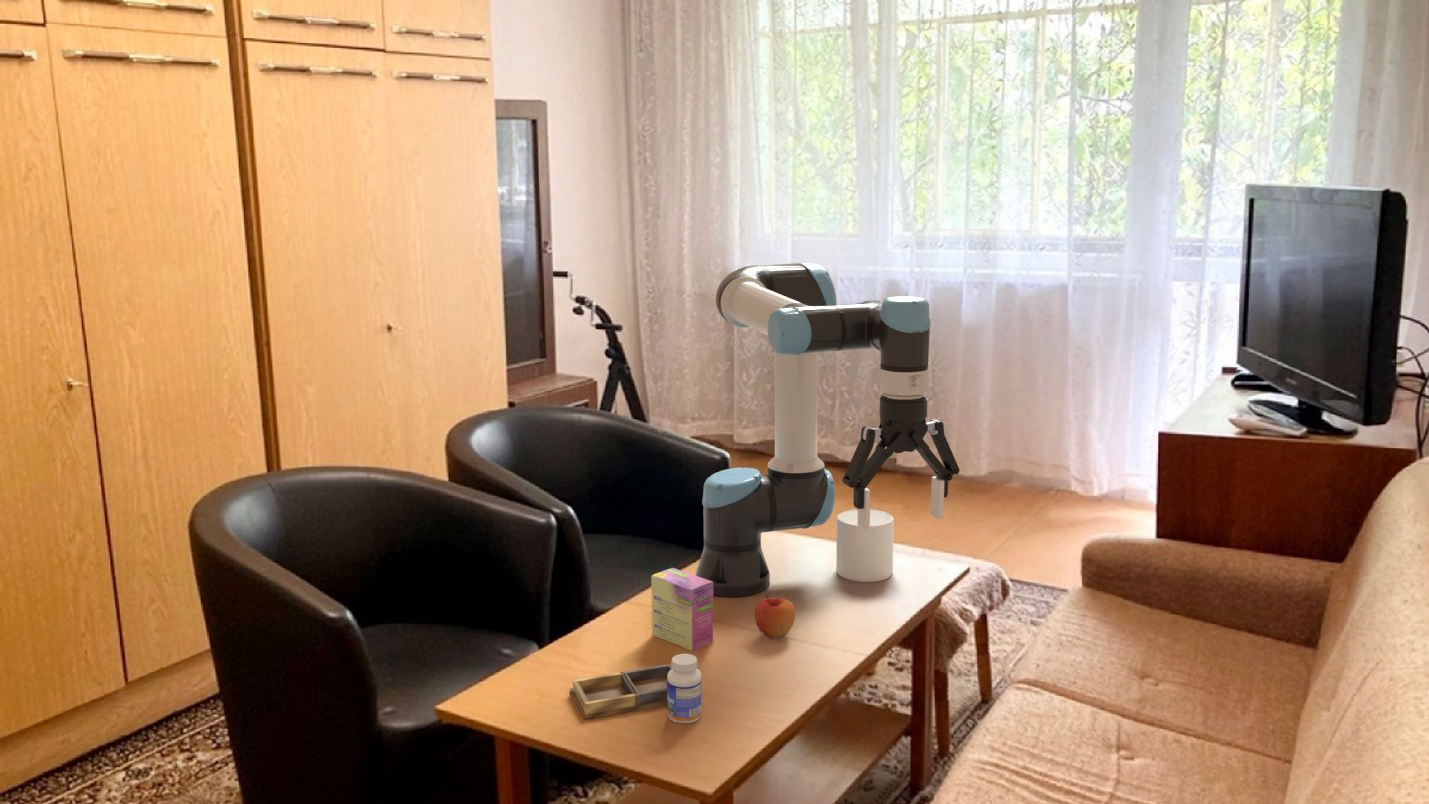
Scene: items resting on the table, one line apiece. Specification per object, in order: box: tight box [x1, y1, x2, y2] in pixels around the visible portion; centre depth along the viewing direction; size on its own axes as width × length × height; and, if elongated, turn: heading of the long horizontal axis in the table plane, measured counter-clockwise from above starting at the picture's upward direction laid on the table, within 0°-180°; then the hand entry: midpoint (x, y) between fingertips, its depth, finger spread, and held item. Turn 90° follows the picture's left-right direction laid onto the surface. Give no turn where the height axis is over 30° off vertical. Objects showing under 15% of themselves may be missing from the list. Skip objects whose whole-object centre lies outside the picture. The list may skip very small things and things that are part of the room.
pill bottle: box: [667, 653, 703, 724], centre depth 178 cm, size 5×5×10 cm
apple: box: [754, 596, 796, 640], centre depth 207 cm, size 7×7×8 cm
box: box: [650, 567, 714, 652], centre depth 206 cm, size 10×6×12 cm, turn 47°
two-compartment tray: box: [569, 663, 672, 720], centre depth 186 cm, size 18×10×2 cm, turn 110°
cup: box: [835, 508, 895, 583], centre depth 238 cm, size 12×12×12 cm
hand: (900, 522), depth 186 cm, fingers open, 13 cm apart
